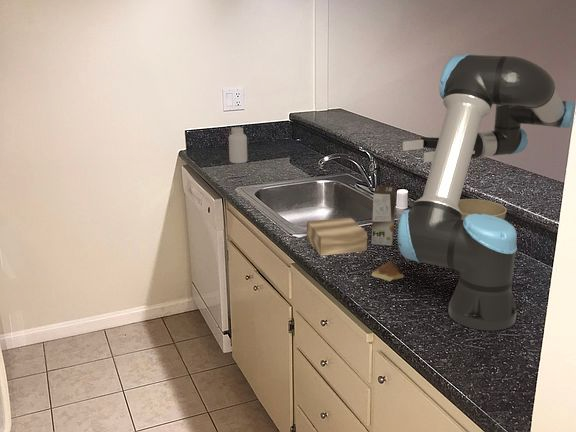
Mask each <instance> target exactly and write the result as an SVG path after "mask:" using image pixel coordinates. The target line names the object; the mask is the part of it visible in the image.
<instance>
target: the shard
mask: <svg viewBox="0 0 576 432" xmlns="http://www.w3.org/2000/svg"><path fill="white" fill-rule="evenodd" d="M371 276H372V277H374V278H378V279H382V280H385V281H388V282H391V281H394V280H398V279H403V278H404V277H405V275H404V273H403V272H402V271H401V269H400V268H399V266H397V264H395V263H394V261H393V260H392V259H390V260H389V261H387V262H386V263H384V264H383V265H380V266H379V267H377V268H376V269H374V271H372V272H371Z"/></svg>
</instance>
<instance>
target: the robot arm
mask: <svg viewBox="0 0 576 432" xmlns="http://www.w3.org/2000/svg"><path fill="white" fill-rule="evenodd" d="M438 91H439V95H440V98H441V99H442V102H443V103H442V104H443V105H444V108H446V113H445V115H444V116H445V117H444V119H443V120H444V121H443V123H442V127H441V130H440V133H439V136H438V137H426V136H422V137H420V139H416V140H415V139H413V140H405V141H402V151H403V152H404V151H412V150H413V151H414V150H421V151H423V150H424V148H425V149H426V148H427V149H435V151H426V152H423V163H431V166H430V169H429V173H428V176H427V180H426V184H425V186H424V190H423V194H422V196H421V197H420V198H418V199H416V200H415V201H414V202H413V204H412V208H411V209H406V210H404V211H403V212H402V213H401V215H400V216H399V217H400V218H399V221H398V226H397V244H398V249H399V252H400V254H401V255H402V257H404V258H405V259H407V260H409V261H414V262H417V263H418V264H421V263H422V264H427V265H432V266H437V267H441V268H447V269H450V270H454V271H455V270H456V271H459V273H458V283H457V285H456V287H455V289H454V291H453V293H452V296H451V298H450V300H449V302H448V312H447V313H448V316H449V317H450V318H451V319H452V320H453V321H455V322H456V323H457V324H459V325H461V326H463V327H466V328H469V329H472V330H473V329H474V330H478V331H489V332H492V331H493V332H494V331H502V330H503V331H504V330H506V329H508V328H511V327H512V326H513V325H515V323H516V321H517V307H516V303H515V300H514V299H515V298H514V294H513V291H512V285H513V277H514V269H515V259H516V252H517V251H518V250H517V249H518V247H517V240H518V239H517V238H518V237H517V235H518V233H517V230H516V228H515V227H514V226H513V225H512V224H511V223H509V222H508V221H506V220H505V219H504V220H503V219H500V218H498V217H494V216H491V215H486V214H481V215H479V214H471V215H468V216H466V217H465V219H464V220H461V218H462V212H461V211H460V209H459V208H458V204H459V200H461V195H462V192H463V189H464V185H465V181H466V178H467V174H468V170H469V167H470V163H471V159H475V158H483V159H486V158H487V157H492V156H502V155H503V156H505V155H514V154H517V153H522V152H524V151H525V150H526V148H527V146H528V141H529V139H528V138H527V136H528V134H527V132H526V130H525V129H523V128H521V125H524V124H525V125H534V126H535V125H536V126H544V127H553V128H559V129H561V128H565V129H566V128H567V129H568V128H571V127H572V126H573V124H572V122H573V116H574V109H575V105H576V103H575V102H573V101H567V100H561V98H560V95H558V93H557V92H556V85H555V81H554V79H553V77H552V76H551V74H550V73H549V72H548V71H546V69H544V68H543V67H542V66H540V65H538V64H536V63H535V62H533V61H531V60H529V59H525V58H524V57H523V58H522V57H518V56H511V55H509V56H507V55H506V56H505V55H486V54H484V55H483V54H474V53H467V54H456V55H454V56H452V57H451V58H449V60H448V61H447V62H446V64H445V65H444V67H443V70H442V73H441V77H440V83H439V89H438ZM493 105H495V114H494V115H495V117H494V126H493V127H494V128H493V130H487V131H485V130H484V131H479V129H480V126H481V123H482V119H483V118H484V117H486V116H488V115H489V114H490V113H491V109H492V106H493ZM573 123H574V122H573Z"/></svg>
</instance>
